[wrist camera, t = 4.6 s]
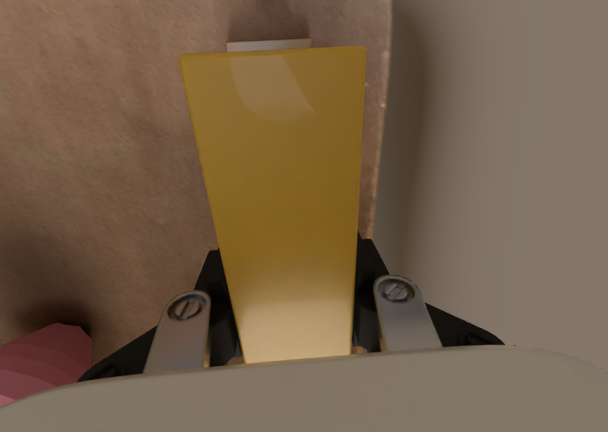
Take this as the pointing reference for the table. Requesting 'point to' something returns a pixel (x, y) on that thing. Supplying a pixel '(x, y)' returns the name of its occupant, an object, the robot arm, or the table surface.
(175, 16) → the table surface
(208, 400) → the robot arm
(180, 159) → the table surface
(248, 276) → the bar
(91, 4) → the table surface
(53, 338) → the apple
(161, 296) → the table surface
